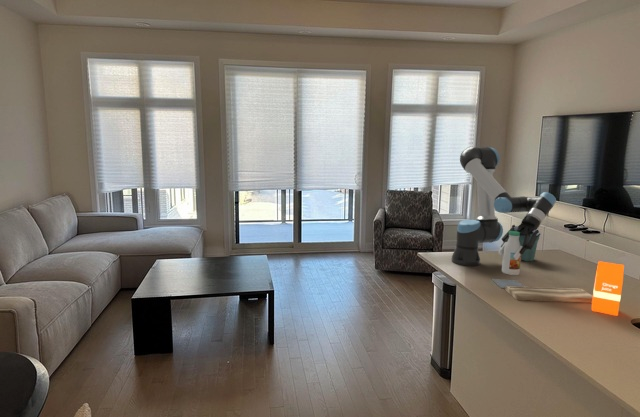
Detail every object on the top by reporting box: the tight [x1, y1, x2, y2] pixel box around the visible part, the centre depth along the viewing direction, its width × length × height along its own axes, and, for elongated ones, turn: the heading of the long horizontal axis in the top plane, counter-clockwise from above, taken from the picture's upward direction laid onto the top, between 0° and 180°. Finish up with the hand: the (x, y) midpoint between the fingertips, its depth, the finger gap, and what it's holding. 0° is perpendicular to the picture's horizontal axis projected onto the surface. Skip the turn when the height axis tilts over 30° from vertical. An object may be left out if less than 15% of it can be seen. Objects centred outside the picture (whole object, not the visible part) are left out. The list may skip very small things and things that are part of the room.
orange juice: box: [591, 260, 625, 316], centre depth 170 cm, size 8×9×20 cm
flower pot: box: [519, 232, 542, 262], centre depth 246 cm, size 16×16×16 cm
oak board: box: [504, 285, 593, 304], centre depth 186 cm, size 12×34×2 cm, turn 89°
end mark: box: [491, 278, 526, 290], centre depth 200 cm, size 12×12×1 cm
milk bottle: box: [501, 230, 522, 276], centre depth 198 cm, size 8×8×20 cm
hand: (507, 256), depth 196 cm, fingers closed on milk bottle, 7 cm apart
